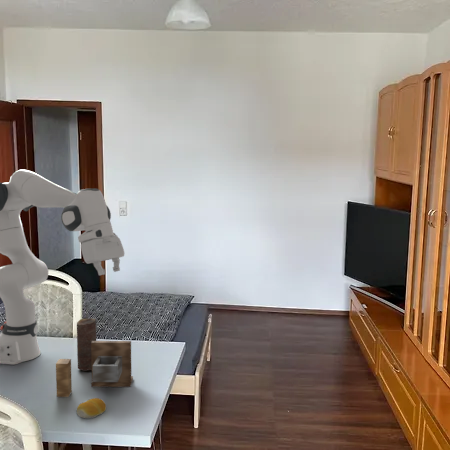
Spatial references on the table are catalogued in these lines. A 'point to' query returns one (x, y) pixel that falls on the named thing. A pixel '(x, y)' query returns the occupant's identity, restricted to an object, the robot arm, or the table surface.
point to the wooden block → (63, 377)
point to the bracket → (111, 364)
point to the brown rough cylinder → (85, 342)
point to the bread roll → (91, 408)
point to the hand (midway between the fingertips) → (109, 273)
